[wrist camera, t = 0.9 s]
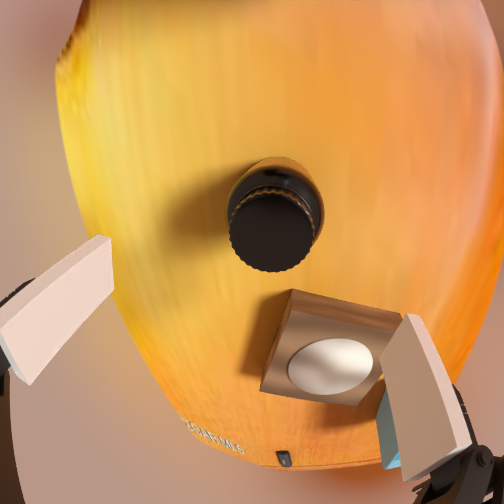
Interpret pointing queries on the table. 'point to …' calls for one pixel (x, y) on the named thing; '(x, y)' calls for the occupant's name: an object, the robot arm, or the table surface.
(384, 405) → the light-blue rounded block
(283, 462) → the usb stick
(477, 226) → the table surface
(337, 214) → the table surface
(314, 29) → the table surface
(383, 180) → the table surface
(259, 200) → the supplement bottle
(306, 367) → the base
